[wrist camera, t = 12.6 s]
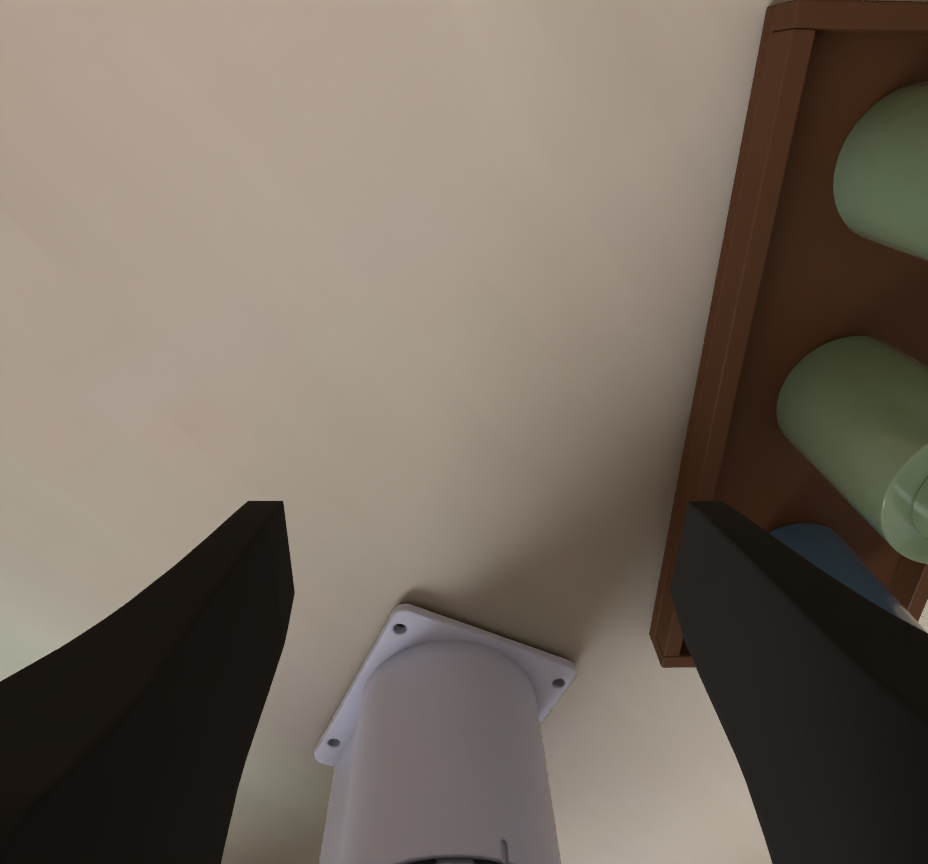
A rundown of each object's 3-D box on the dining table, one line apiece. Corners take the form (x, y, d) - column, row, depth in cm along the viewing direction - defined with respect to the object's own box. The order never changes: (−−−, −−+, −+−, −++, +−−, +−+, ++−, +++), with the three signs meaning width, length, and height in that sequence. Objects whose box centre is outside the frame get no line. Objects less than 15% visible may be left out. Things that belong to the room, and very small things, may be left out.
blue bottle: (832, 612, 26) (1004, 845, 18) (724, 612, 26) (850, 848, 18) (863, 522, 24) (1071, 738, 16) (747, 522, 24) (899, 740, 16)
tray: (873, 632, 27) (900, 666, 26) (648, 634, 27) (661, 668, 26) (1112, 14, 18) (1179, 7, 16) (765, 6, 17) (798, -2, 16)
